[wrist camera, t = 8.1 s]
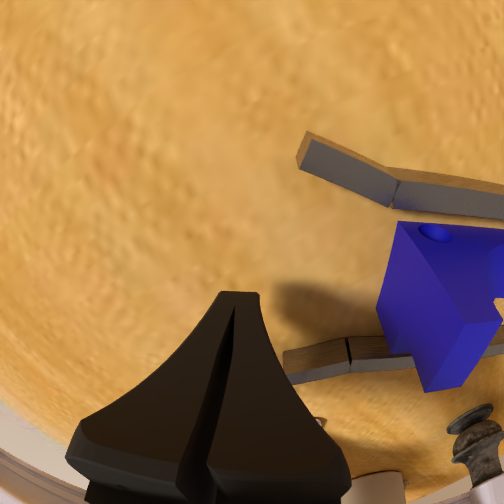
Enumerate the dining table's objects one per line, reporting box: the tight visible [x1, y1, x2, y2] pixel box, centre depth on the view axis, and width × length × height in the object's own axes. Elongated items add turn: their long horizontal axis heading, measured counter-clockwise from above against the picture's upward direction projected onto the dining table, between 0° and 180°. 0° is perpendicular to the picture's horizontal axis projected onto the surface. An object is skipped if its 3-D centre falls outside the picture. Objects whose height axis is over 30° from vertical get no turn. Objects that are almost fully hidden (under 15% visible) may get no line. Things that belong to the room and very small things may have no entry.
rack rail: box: [283, 131, 504, 385], centre depth 12 cm, size 14×20×2 cm
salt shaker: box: [446, 404, 504, 491], centre depth 15 cm, size 6×6×12 cm
